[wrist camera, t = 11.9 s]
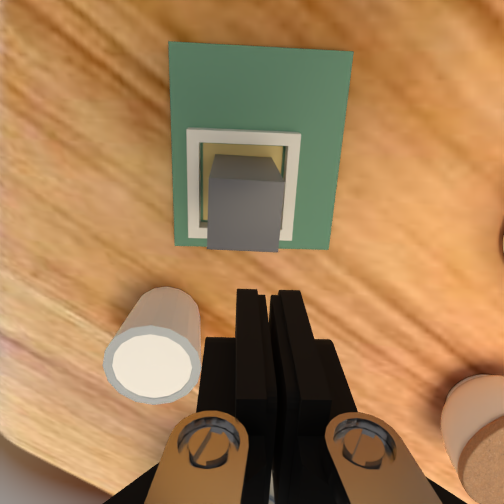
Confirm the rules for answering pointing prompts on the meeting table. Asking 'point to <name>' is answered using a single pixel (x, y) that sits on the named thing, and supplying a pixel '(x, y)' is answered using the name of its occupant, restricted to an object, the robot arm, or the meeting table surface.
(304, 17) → the meeting table surface
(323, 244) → the board
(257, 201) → the plug
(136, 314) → the white cylinder
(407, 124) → the meeting table surface
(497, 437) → the lidded jar
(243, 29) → the meeting table surface
